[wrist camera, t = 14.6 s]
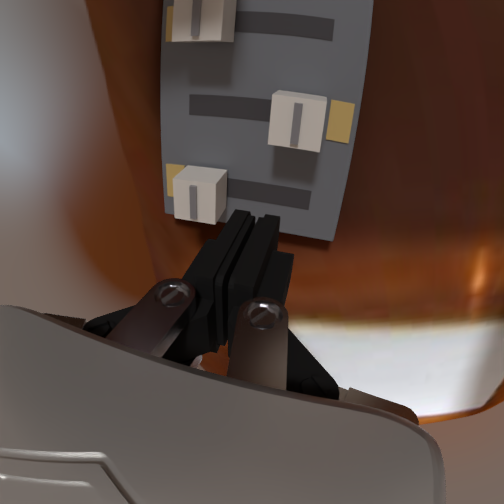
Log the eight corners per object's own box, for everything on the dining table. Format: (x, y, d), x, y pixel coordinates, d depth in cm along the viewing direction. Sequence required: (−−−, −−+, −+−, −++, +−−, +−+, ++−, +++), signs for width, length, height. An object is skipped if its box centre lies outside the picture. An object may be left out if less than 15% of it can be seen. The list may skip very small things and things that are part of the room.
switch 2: (227, 169, 29) (214, 185, 26) (226, 207, 32) (214, 226, 29) (187, 165, 30) (171, 179, 27) (188, 201, 32) (173, 219, 29)
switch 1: (236, 0, 20) (223, -8, 17) (233, 42, 22) (219, 40, 19) (191, 1, 21) (172, -5, 17) (189, 42, 23) (169, 41, 20)
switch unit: (369, 0, 20) (373, -5, 18) (332, 230, 34) (332, 243, 32) (176, -10, 22) (163, -14, 20) (174, 204, 36) (164, 214, 34)
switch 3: (326, 96, 24) (326, 102, 21) (320, 141, 26) (319, 153, 23) (278, 90, 24) (271, 94, 21) (274, 134, 26) (267, 145, 23)
